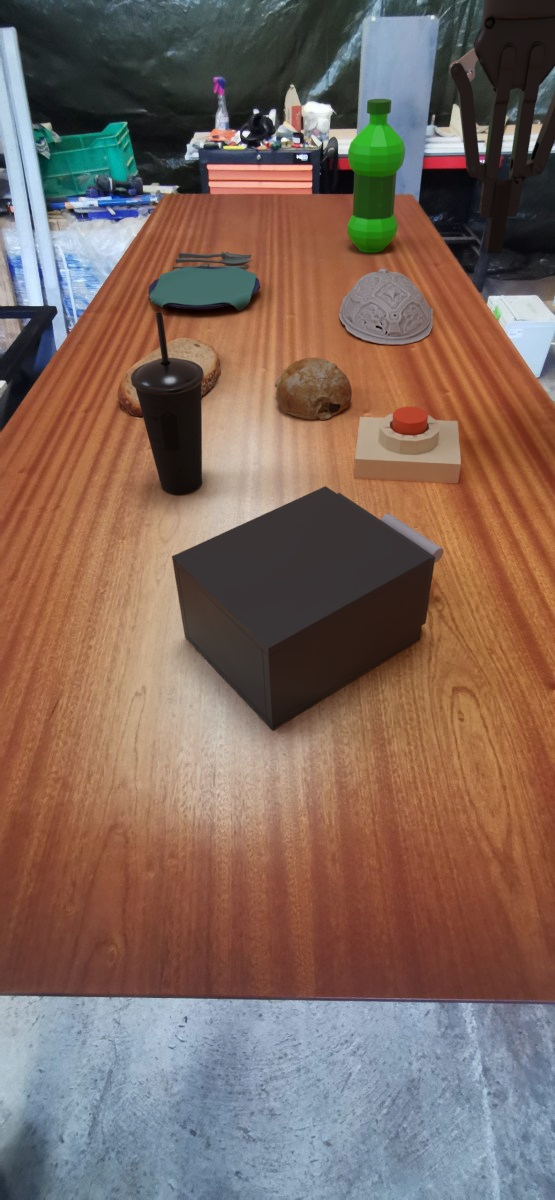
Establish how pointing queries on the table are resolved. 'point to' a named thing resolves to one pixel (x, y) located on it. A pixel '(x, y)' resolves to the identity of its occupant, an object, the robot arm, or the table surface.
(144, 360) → the slice of bread
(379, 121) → the plastic bottle
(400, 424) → the button
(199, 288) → the cutlery set
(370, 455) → the control block
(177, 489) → the drinking cup
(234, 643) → the cabinet
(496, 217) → the robot arm
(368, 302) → the grey ornate dome
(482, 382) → the table surface
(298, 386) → the bread roll
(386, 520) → the drawer
